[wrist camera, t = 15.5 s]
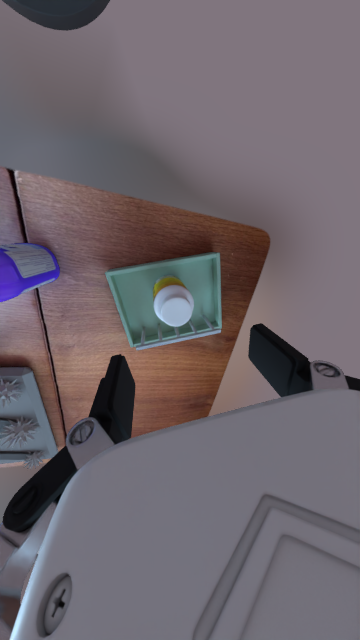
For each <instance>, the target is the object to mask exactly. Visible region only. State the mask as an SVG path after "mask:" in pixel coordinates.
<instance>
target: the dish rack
mask: <svg viewBox="0 0 360 640" xmlns="http://www.w3.org/2000/svg"><path fill="white" fill-rule="evenodd" d="M105 274H106V277H107V280H108V283H109V286H110V288H111V291H112V294H113V297H114V300H115V303H116V306H117V309H118V311H119V314H120V317H121V320H122V323H123V326H124V329H125V332H126V334H127V337H128V340H129V343H130V346H131V347H135V346H136V350H142V349H146V348H151V347H156V346H160V345H165V344H169V343H174V342H179V341H183V340H188V339H193V338H197V337H202V336H207V335H211V334H216V333H221V329H220V328H222V320H221V280H220V253H217V252H210V253H204V254H198V255H192V256H186V257H180V258H175V259H169V260H163V261H157V262H151V263H145V264H139V265H133V266H127V267H121V268H116V269H110V270H108V271H107V272H105ZM165 275H172V276H175V277H177V278H178V279H180V280H181V282H182V283H183V284H184V285H185V287H186V288H187V289H188V291H189V292H190V293H191V295H192V297H193V300H194V308H193V311H192V315H191V318H190V319H189V321H188V322H187V323H185V324H184V325H182V326H177V327H174V326H170V325H168V324H166V323H165V322H164V321H162V320H161V319H159V318H158V316H157V315H156V313H155V310H154V303H153V302H154V301H153V287H154V284H155V282H156V281H157V280H158V279H159V278H160V277H162V276H165Z"/></svg>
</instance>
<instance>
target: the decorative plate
mask: <svg viewBox="0 0 360 640" xmlns="http://www.w3.org/2000/svg"><path fill="white" fill-rule="evenodd" d="M57 453H58V449H57V446H56V443H55V440H54V436H53V433H52V430H51V427H50V424H49V421H48V418H47V414H46V411H45V408H44V405H43V402H42V399H41V395H40V392H39V389H38V386H37V383H36V380H35V376H34V373H33V371H32V370H31V368H30V367H0V464H4V463H13V462H22V461H26V462H24V464H25V463H28V464H27V465H29V464H30V465H29V468H30V467H31V468H32V466H33V465H34V466H35V467H36V464H37V465H39V462H43V461H42V460H41V459H49V458H52V457H54V456H55V455H56V454H57ZM22 465H23V464H22ZM27 465H26V466H27ZM31 465H32V466H31ZM26 466H25V467H26Z"/></svg>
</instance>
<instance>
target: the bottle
mask: <svg viewBox="0 0 360 640" xmlns="http://www.w3.org/2000/svg"><path fill="white" fill-rule="evenodd" d="M59 274H60V268H59V265H58V263H57V260H56V258H55V256H54V254H53V253H52V252H51V251H50V250H49V249H48V248H46V247H44V246H41V245H37V244H32V243H15V244H8V245H0V302H3V301H6V300H9V299H12V298H14V297H16V296H18V295H20V294H23V293H25V292H27V291H30V290H32V289H35V288H37V287H40V286H42V285H45V284H47V283H50V282H53V281H54V280H56V279H57V278H58V276H59Z"/></svg>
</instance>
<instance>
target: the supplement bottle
mask: <svg viewBox="0 0 360 640" xmlns="http://www.w3.org/2000/svg"><path fill="white" fill-rule="evenodd" d="M153 301H154V302H153V303H154V310H155V313H156V315H157V316H158V318H159V319H161V320H162V321H164V322H165V323H166V324H168V325H170V326H174V327H177V326H182V325H184V324H185V323H187V322H188V321H189V319H190V318H191V315H192V311H193V308H194V300H193V297H192V295H191V293H190V292H189V291H188V289H187V288H186V287H185V285H184V284H183V283H182V282H181V280H180V279H178V278H177V277H175V276H172V275H165V276H162V277H160V278H159V279H158V280H157V281H156V282H155V284H154V287H153Z"/></svg>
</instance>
